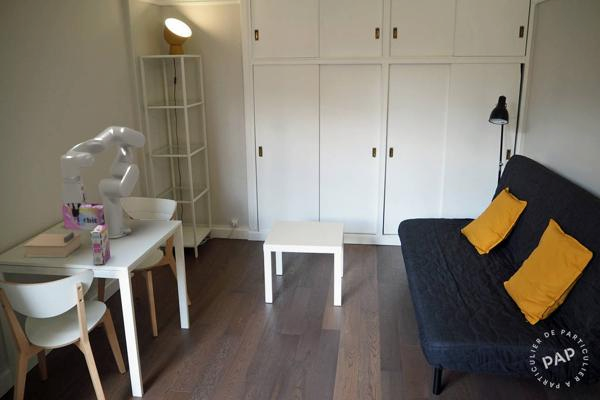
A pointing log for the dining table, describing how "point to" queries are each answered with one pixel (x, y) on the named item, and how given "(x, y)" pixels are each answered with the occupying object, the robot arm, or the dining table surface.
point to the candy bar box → (100, 244)
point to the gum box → (84, 217)
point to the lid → (52, 240)
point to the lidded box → (53, 250)
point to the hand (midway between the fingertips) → (76, 216)
